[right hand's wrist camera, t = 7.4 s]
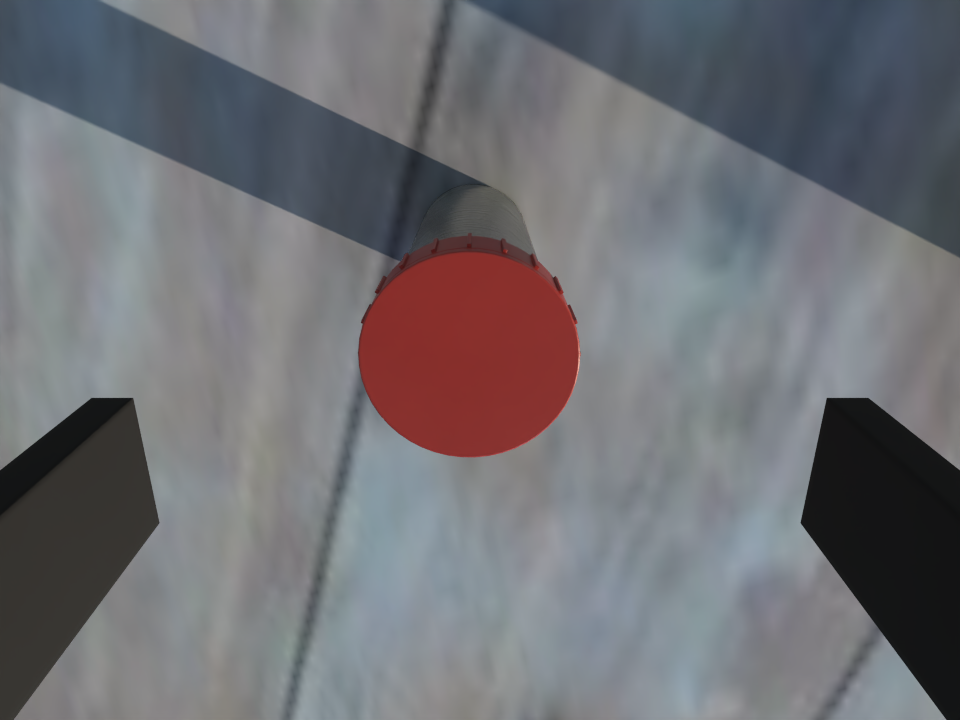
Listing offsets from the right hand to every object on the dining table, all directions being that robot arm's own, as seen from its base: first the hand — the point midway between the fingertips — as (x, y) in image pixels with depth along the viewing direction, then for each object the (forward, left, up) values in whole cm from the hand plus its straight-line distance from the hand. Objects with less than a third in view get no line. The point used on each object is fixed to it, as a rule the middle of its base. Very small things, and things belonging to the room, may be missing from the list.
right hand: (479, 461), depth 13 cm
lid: (0, 0, -5) cm, 5 cm away
